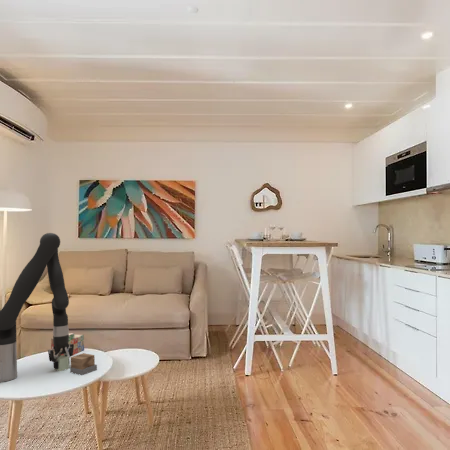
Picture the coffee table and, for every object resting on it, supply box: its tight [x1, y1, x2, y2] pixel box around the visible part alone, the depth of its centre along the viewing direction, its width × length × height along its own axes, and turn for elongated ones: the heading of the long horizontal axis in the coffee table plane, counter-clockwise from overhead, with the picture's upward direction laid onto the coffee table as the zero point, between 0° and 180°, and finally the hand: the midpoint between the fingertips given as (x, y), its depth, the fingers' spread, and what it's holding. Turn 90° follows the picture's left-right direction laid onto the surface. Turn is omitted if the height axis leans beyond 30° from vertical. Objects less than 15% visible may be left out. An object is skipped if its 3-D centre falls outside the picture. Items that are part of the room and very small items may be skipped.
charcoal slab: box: [69, 364, 98, 376], centre depth 208 cm, size 9×9×3 cm
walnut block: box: [70, 352, 96, 370], centre depth 208 cm, size 8×8×5 cm
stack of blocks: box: [50, 332, 85, 356], centre depth 238 cm, size 21×6×12 cm, turn 164°
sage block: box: [53, 356, 70, 372], centre depth 212 cm, size 5×5×6 cm
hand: (61, 367), depth 212 cm, fingers open, 5 cm apart
